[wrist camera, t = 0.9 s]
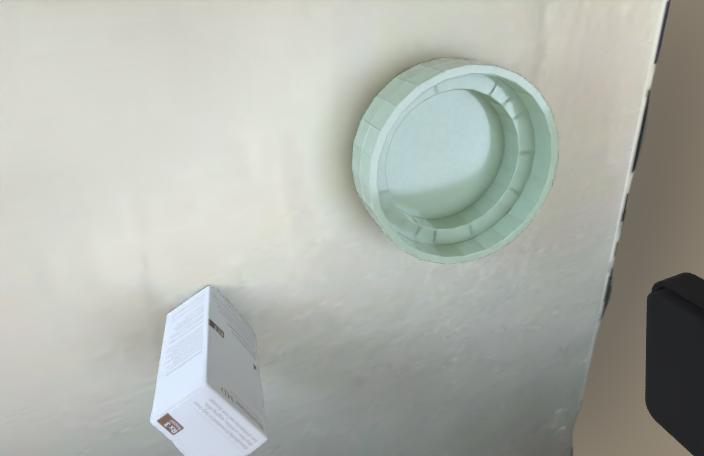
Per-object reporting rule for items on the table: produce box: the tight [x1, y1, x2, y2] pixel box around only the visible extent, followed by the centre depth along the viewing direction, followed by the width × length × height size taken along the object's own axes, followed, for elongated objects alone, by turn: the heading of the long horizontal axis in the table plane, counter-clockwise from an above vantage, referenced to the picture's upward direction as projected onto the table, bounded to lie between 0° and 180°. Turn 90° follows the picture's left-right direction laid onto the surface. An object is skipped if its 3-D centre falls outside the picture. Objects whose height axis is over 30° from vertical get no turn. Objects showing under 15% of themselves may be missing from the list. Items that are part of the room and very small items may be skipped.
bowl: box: [352, 58, 559, 264], centre depth 40 cm, size 14×14×5 cm
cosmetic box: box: [150, 285, 268, 456], centre depth 37 cm, size 6×4×12 cm
